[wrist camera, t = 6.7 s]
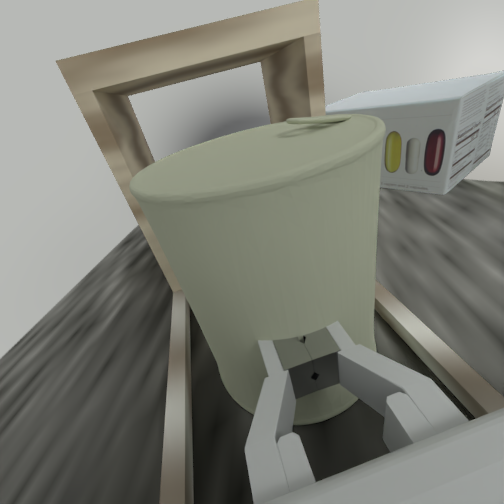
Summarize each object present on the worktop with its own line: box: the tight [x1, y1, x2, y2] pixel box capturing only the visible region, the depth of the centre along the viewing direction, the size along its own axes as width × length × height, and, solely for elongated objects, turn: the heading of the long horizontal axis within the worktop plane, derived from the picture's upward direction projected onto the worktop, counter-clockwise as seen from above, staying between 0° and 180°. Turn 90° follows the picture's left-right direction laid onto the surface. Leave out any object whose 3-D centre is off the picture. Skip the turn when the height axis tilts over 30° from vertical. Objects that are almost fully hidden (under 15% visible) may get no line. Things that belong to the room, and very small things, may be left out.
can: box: [129, 114, 386, 425], centre depth 13 cm, size 9×9×12 cm
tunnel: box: [56, 0, 504, 504], centre depth 16 cm, size 24×14×16 cm, turn 13°
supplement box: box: [325, 71, 504, 195], centre depth 33 cm, size 17×13×9 cm
